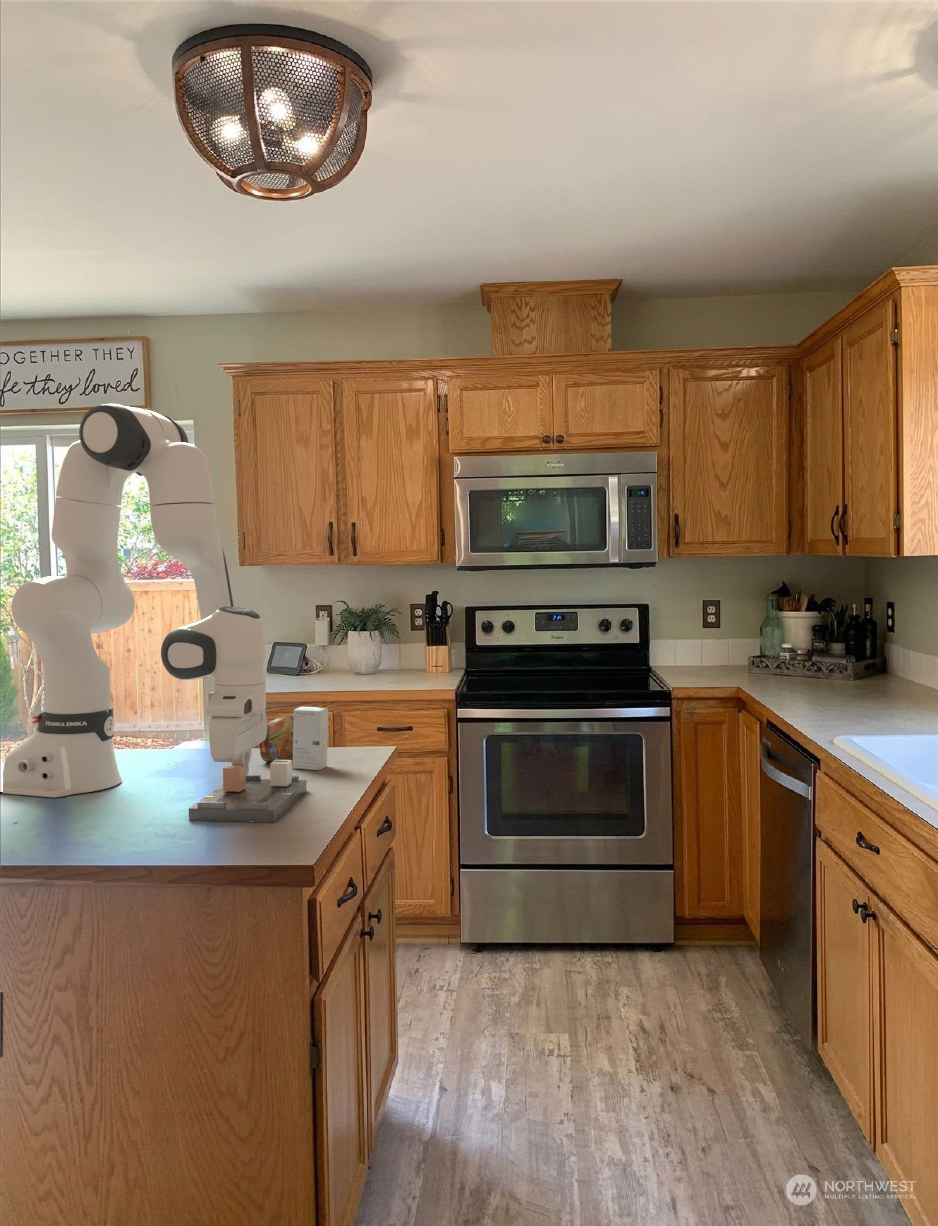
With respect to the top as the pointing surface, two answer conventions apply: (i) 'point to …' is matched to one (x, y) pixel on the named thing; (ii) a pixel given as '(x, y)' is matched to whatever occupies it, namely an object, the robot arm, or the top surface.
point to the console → (249, 801)
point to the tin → (278, 740)
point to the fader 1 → (234, 777)
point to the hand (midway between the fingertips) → (241, 776)
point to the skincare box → (310, 738)
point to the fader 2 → (280, 772)
